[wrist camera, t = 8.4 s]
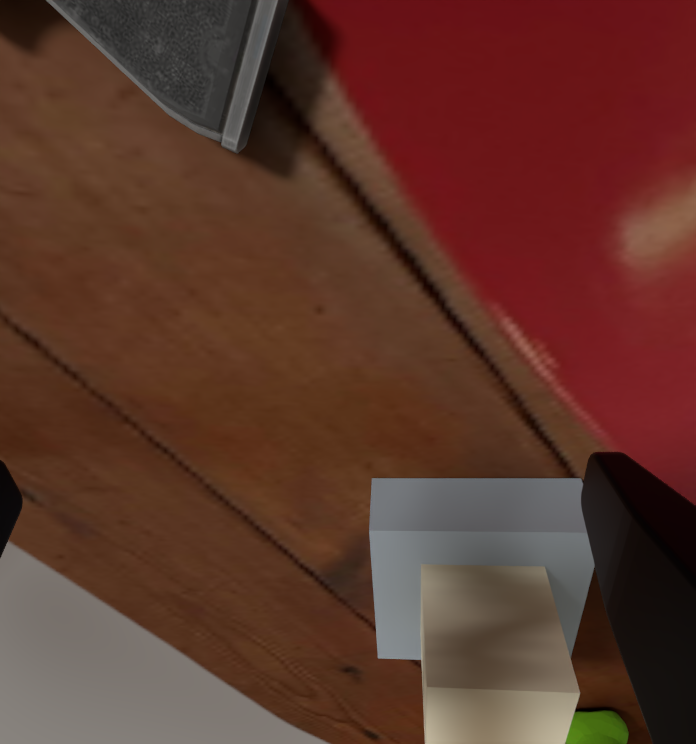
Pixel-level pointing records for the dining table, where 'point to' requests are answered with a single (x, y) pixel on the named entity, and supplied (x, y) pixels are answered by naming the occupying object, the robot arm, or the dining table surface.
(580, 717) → the toy
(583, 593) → the base
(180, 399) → the dining table surface
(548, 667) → the cube
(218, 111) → the handgun
